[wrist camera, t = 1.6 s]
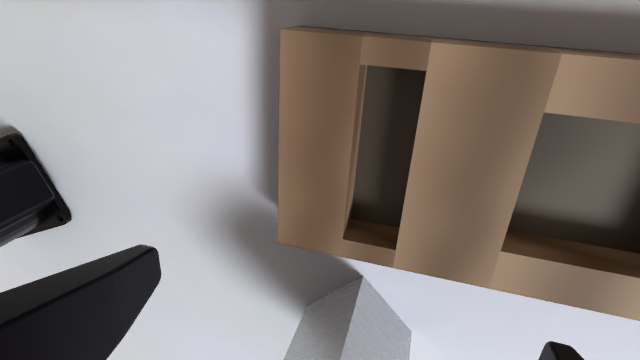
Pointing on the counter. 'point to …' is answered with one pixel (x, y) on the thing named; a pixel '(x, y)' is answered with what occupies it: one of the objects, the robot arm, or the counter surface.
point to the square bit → (350, 328)
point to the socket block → (465, 161)
